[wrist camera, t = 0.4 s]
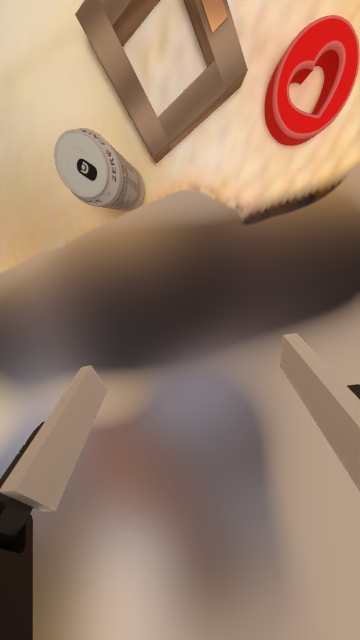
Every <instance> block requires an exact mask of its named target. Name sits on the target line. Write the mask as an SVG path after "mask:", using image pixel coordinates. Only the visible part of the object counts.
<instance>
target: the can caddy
mask: <svg viewBox="0 0 360 640" xmlns="http://www.w3.org/2000/svg"><path fill="white" fill-rule="evenodd" d="M159 1H160V0H85V1H84V2H83V4H82V5H81V7H80V8H79V10H78V11H77V12H76V14H75V15H76V17H77V19H78V21H79V22H80V24H81V26H82V28H83V30H84V32H85V34H86V35H87V37H88V39H89V41H90V43H91V45H92V46H93V48H94V50H95V52H96V54H97V55H98V57H99V59H100V61H101V63H102V65H103V66H104V68H105V70H106V72H107V74H108V76H109V77H110V79H111V81H112V83H113V85H114V87H115V88H116V90H117V92H118V94H119V96H120V97H121V99H122V101H123V103H124V105H125V107H126V108H127V110H128V112H129V114H130V116H131V118H132V119H133V121H134V123H135V125H136V127H137V129H138V130H139V132H140V134H141V136H142V138H143V139H144V141H145V143H146V145H147V147H148V149H149V150H150V152H151V154H152V156H153V158H154V160H155V161H156V163H157V162H158V161H160V160H161V159H162V158H163V157H164V156H165V155H166V154H167V153H168V152H169V151H171V150H172V149H173V148H174V147H175V146H176V145H177V144H178V143H179V142H180V141H182V140H183V139H184V138H185V137H186V136H187V135H188V134H189V133H190V132H191V131H193V130H194V129H195V128H196V127H197V126H198V125H199V124H200V123H201V122H202V121H204V120H205V119H206V118H207V117H208V116H209V115H210V114H211V113H212V112H213V111H214V110H216V109H217V108H218V107H219V106H220V105H221V104H222V103H223V102H224V101H225V100H227V99H228V98H229V97H230V96H231V95H232V94H233V93H234V92H235V91H236V90H238V89H239V88H240V87H241V85H242V82H243V80H244V77H245V75H246V73H247V67H246V63H245V60H244V56H243V53H242V50H241V46H240V43H239V39H238V36H237V33H236V29H235V26H234V22H233V19H232V16H231V12H230V9H229V6H228V2H227V0H184V2H185V5H186V8H187V11H188V13H189V16H190V19H191V22H192V24H193V27H194V30H195V33H196V35H197V38H198V41H199V44H200V46H201V49H202V52H203V55H204V57H205V60H206V63H207V66H208V67H207V68H206V70H205V71H204V72H203V73H202V74H201V75H200V76H199V77H198V78H197V79H196V80H195V81H194V82H193V83H192V84H191V85H190V86H189V87H188V88H187V89H186V90H185V91H184V92H183V93H182V94H181V95H180V96H179V97H178V98H177V99H176V100H175V101H174V102H173V103H172V104H171V105H170V106H169V107H168V108H167V109H166V110H165V111H164V112H163V113H162V114H161V115H160V116H159V117H158V118H157V116H156V114H155V112H154V110H153V108H152V106H151V104H150V102H149V100H148V98H147V96H146V94H145V92H144V90H143V88H142V86H141V84H140V82H139V80H138V78H137V76H136V74H135V72H134V70H133V68H132V66H131V64H130V62H129V60H128V58H127V56H126V54H125V52H124V50H123V48H122V47H123V45H124V44H125V43H126V42H127V40H128V39H129V38H130V37H131V35H132V34H133V33H134V32H135V30H136V29H137V28H138V27H139V26H140V24H141V23H142V22H143V21H144V19H145V18H146V17H147V16H148V14H149V13H150V12H151V11H152V9H153V8H154V7H155V6H156V4H157V3H158V2H159Z"/></svg>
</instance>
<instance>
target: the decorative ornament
mask: <svg viewBox="0 0 360 640" xmlns="http://www.w3.org/2000/svg"><path fill="white" fill-rule="evenodd" d="M314 66H320V67H322V69H323V71H324V75H325V78H324V85H323V89H322V92H321V95H320V98H319V100H318V102H317V105H316V107H315V109H314V111H313V112H312V114H309V113H306V112H303V111H301V110H299V109H298V108H296V107H295V106H294V105H293V104H292V102H291V100H290V97H289V85H290V83H294V82H296V83H299V84H301V83H302V82H303V81H304V80H305V79H306V78H307V76H308V75H309V74H310V73H311V72H312V71H313V68H314ZM358 67H359V43H358V38H357V35H356V32H355V30H354V28H353V27H352V25H351V24H350V23H349V22H348V21H347V20H346V19H345V18H343V17H340V16H336V15H330V16H325V17H322V18H320V19H318V20H316V21H314V22H312V23H311V24H309V25H308V26H307V27H305V28H304V29H303V30H302V31H301V32H300V33H299V34H298V35H297V36H296V38H295V39H294V40H293V41H292V43H291V44H290V46H289V47H288V49H287V51H286V52H285V54H284V56H283V57H282V59H281V61H280V62H279V64H278V65H277V67H276V69H275V71H274V73H273V75H272V77H271V80H270V83H269V86H268V89H267V94H266V99H265V119H266V124H267V127H268V129H269V131H270V133H271V135H272V136H273V138H274V139H275V140H276V141H278V142H279V143H281V144H284V145H298V144H301V143H304V142H306V141H307V140H309V139H311V138H312V137H314V136H315V135H317V134H318V133H320V132H321V131H323V130H324V129H325V128H326V127H327V126H329V125H330V124H331V123H332V121H333V120H334V119H335V118H336V117H337V116H338V114H339V113H340V111H341V110H342V108H343V107H344V105H345V103H346V102H347V100H348V98H349V96H350V93H351V91H352V89H353V86H354V83H355V80H356V77H357V73H358Z"/></svg>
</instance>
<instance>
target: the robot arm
mask: <svg viewBox="0 0 360 640" xmlns="http://www.w3.org/2000/svg"><path fill="white" fill-rule="evenodd" d="M280 367H281V368H282V370H283V372H284V373H285V374H286V376H287V378H288V379H289V381H290V383H291V384H292V386H293V387H294V389H295V390H296V392H297V394H298V395H299V397H300V398H301V400H302V401H303V403H304V405H305V406H306V408H307V409H308V411H309V412H310V414H311V416H312V417H313V419H314V420H315V422H316V423H317V425H318V427H319V428H320V430H321V431H322V433H323V434H324V436H325V437H326V439H327V441H328V442H329V444H330V445H331V447H332V448H333V450H334V452H335V453H336V455H337V456H338V458H339V459H340V461H341V463H342V464H343V466H344V467H345V469H346V470H347V472H348V473H349V475H350V477H351V478H352V480H353V482H354V483H355V485H356V486H357V488H358V489H359V491H360V385H359V384H358V385H348V386H346V385H345V384H344V383H343V382H342V381H341V380H340V379H339V377H338V376H337V375H336V374H335V373H334V372H333V371H332V370H331V369H330V368H329V367H328V366H327V365H326V364H325V363H324V362H323V361H322V360H321V359H320V358H319V356H318V355H317V354H316V353H315V352H314V351H313V350H312V349H311V348H310V347H309V346H308V345H307V344H306V343H305V342H304V341H303V340H302V339H301V338H300V336H299V335H298V334H297V333H294V334H288V335H283V344H282V353H281V363H280ZM106 392H107V388H106V387H105V386H104V384H103V382H102V381H101V380H100V378H99V376H98V375H97V373H96V372H95V370H94V369H93V367H92V366H85V367H81V369H80V370H79V372H78V373H77V375H76V376H75V378H74V379H73V381H72V382H71V384H70V385H69V387H68V388H67V390H66V391H65V393H64V394H63V396H62V397H61V399H60V400H59V402H58V403H57V405H56V406H55V408H54V409H53V411H52V412H51V414H50V415H49V417H48V418H47V420H46V421H45V422H42V423H41V424H40V426H38V427H37V428H36V429H35V430H34V431H33V433H32V434H31V436H30V437H29V438H28V440H27V442H26V444H25V445H24V446H23V447H22V449H21V450H20V451H19V452H20V453H19V454H17V456H16V457H15V459H14V460H13V462H12V463H11V464H10V466H9V467H8V469H7V470H6V472H5V473H4V475H3V476H2V478H1V479H0V640H33V639H32V638H33V635H32V634H33V633H32V632H33V631H32V630H33V627H32V625H33V622H32V621H33V609H32V608H33V606H32V605H33V589H32V588H33V519H32V515H30V513H31V511H32V509H33V508H35V509H37V510H39V511H55V510H56V508H57V506H58V503H59V501H60V499H61V496H62V494H63V492H64V489H65V487H66V485H67V482H68V480H69V478H70V475H71V473H72V471H73V469H74V466H75V464H76V462H77V459H78V457H79V455H80V452H81V450H82V448H83V446H84V443H85V441H86V439H87V436H88V434H89V432H90V429H91V427H92V425H93V422H94V420H95V418H96V415H97V413H98V411H99V408H100V406H101V404H102V401H103V399H104V397H105V395H106Z"/></svg>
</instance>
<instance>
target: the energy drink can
mask: <svg viewBox="0 0 360 640" xmlns="http://www.w3.org/2000/svg"><path fill="white" fill-rule="evenodd" d="M54 156H55V164H56V168H57V171H58V173H59V175H60V177H61V179H62V181H63V182H64V184H65V185H66V186H67V187H68V188H69V189H70V190H71V192H72V193H73V194H74V195H75V196H76V197H77V198H78V199H80V200H81V201H82V202H84V203H86V204H89V205H92V206H98V207H106V208H113V209H120V210H134V209H136V208H137V207H139V206H140V204H141V203H142V201H143V198H144V193H145V187H144V183H143V180H142V178H141V176H140V174H139V173H138V171H137V170H136V169H135V168H134V167H133V166H132V165H131V164H130V163H129V162H128V161H126V160H125V159H124V158H123V157H122V156H121V155H120V154H119V153H118V152H117V151H116V150H115V149H114V148H113V147H112V146H111V145H110V144H109V143H108V142H107V141H106V140H105V139H104V138H103V137H102V136H101V135H99V134H98V133H96V132H94V131H92V130H89V129H83V128H80V129H75V130H68V131H66V132H64V133H63V134H62V135H61V136H60V137H59V138H58V140H57V142H56V146H55V153H54Z"/></svg>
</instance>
